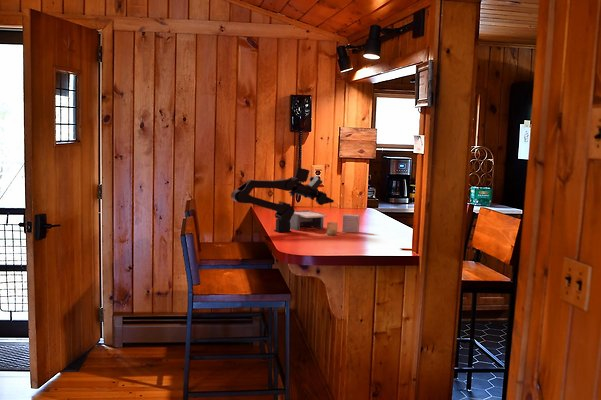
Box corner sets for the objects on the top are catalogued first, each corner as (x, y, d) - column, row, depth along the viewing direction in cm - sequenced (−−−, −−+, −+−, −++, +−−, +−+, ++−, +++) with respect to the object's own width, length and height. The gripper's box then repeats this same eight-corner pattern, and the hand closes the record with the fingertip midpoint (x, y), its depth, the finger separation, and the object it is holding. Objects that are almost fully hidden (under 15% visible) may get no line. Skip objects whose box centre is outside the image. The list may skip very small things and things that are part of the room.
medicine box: (359, 232, 337) (359, 215, 336) (357, 233, 333) (358, 216, 332) (343, 230, 339) (344, 214, 338) (342, 232, 335) (342, 215, 334)
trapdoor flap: (306, 225, 330) (306, 215, 329) (288, 221, 344) (288, 211, 344) (327, 224, 336) (327, 215, 336) (308, 220, 351) (309, 210, 350)
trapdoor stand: (297, 230, 334) (297, 214, 333) (282, 226, 347) (282, 211, 346) (323, 228, 342) (323, 213, 342) (307, 224, 355) (308, 210, 354)
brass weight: (330, 236, 320) (330, 223, 320) (324, 234, 324) (325, 222, 324) (338, 235, 323) (339, 223, 322) (333, 234, 327) (333, 221, 326)
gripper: (316, 179, 321) (343, 189, 328) (302, 170, 338) (328, 179, 344) (307, 201, 323) (334, 209, 329) (294, 191, 339) (320, 199, 346)
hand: (329, 198), depth 337 cm, fingers open, 9 cm apart
